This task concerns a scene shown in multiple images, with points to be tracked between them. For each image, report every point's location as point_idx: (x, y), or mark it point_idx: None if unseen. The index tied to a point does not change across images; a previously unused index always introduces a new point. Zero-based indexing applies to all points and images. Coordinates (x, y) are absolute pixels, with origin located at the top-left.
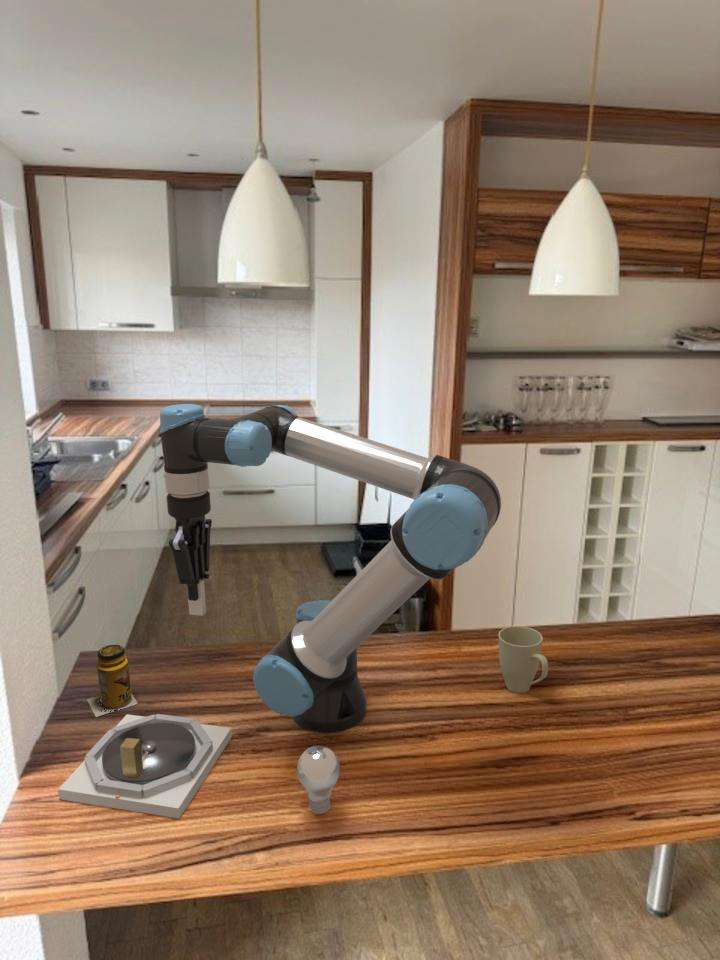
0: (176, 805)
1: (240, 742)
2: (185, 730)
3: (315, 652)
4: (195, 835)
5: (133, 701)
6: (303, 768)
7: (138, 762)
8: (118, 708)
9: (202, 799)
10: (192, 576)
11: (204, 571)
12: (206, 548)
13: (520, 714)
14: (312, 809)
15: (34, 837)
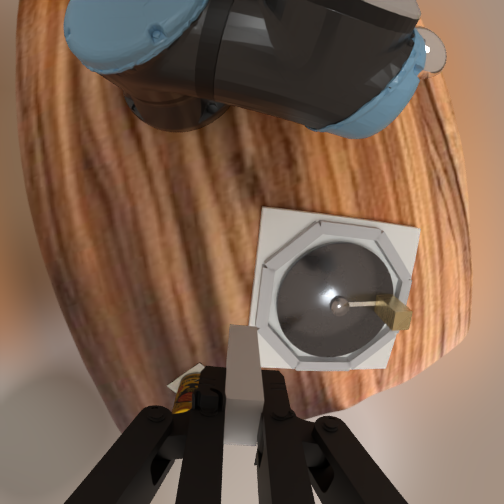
0: (416, 232)
1: (273, 189)
2: (294, 271)
3: None
4: (432, 201)
5: (195, 369)
6: (443, 66)
7: (392, 300)
8: None
9: (386, 209)
10: (343, 445)
11: (197, 421)
12: (118, 500)
13: None
14: None
15: (424, 353)
